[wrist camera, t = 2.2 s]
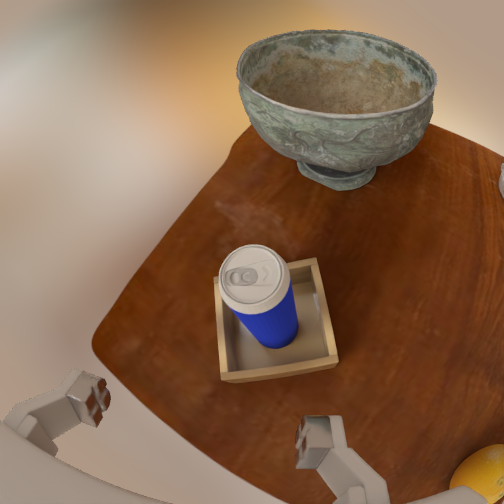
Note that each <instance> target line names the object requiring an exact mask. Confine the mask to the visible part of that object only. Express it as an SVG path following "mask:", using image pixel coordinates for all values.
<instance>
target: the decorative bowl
mask: <svg viewBox="0 0 504 504" xmlns="http://www.w3.org/2000/svg"><path fill="white" fill-rule="evenodd" d="M237 77H238V79H239V93H240V96H241V99H242V102H243V105H244V108H245V111H246V113H247V114H248V116H249V119H250V122H251V124H252V125H253V127H254V128H255V130H256V131H257V133H258V134H259V135H260V137H261V138H262V139H263V140H264V141H265V142H266V143H268V144H269V145H270V146H271V147H272V148H273V149H274V150H275V151H277V152H278V153H280V154H281V155H283V156H286V157H289V158H291V159H294V160H297V166H298V169H299V171H300V173H301V174H302V175H304V176H306V177H308V178H310V179H312V180H314V181H316V182H318V183H321V184H323V185H325V186H327V187H329V188H332V189H334V190H337V191H343V190H352V189H356V188H359V187H361V186H363V185H365V184H367V183H368V182H369V181H370V180H371V179H372V178H373V176H374V174H375V172H376V167H377V166H380V165H388V164H390V163H391V162H393V161H395V160H397V159H398V158H400V157H402V156H404V155H406V154H407V153H409V152H410V151H412V150H413V149H414V148H415V147H416V145H417V144H418V142H419V141H420V140H421V139H422V137H423V135H424V132H425V130H426V128H427V127H428V125H429V122H430V119H431V117H432V114H433V103H432V101H433V95H434V89H435V87H436V85H437V75H436V73H435V71H434V69H433V68H432V67H431V66H430V64H429V63H428V62H427V61H426V60H425V59H424V58H423V57H421V56H420V55H419V54H417V53H415V52H414V51H412V50H410V49H408V48H407V47H405V46H402V45H400V44H398V43H395V42H393V41H391V40H388V39H385V38H382V37H379V36H375V35H372V34H368V33H363V32H354V31H346V30H340V31H338V30H329V29H328V30H305V31H292V32H288V33H284V34H279V35H275V36H271V37H269V38H266V39H263V40H260V41H258V42H256V43H254V44H252V45H250V46H248V47H247V48H246V50H244V52H243V53H242V55H241V57H240V59H239V61H238V64H237Z"/></svg>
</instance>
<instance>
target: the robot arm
mask: <svg viewBox="0 0 504 504" xmlns="http://www.w3.org/2000/svg"><path fill="white" fill-rule="evenodd" d="M105 386H106V381H105V379H103V378H101V377H98V376H95V375H92V374H90V373H87V372H85V371H82V370H80V369H77V368H74V369H73V370H72V371H71V372H70V373H69V374H68V376H67V377H66V378H65V379H64V381H63V382H62V384H61V385H60V386H59V387H58V389H57V390H51V391H49V392H47V393H44V394H41V395H39V396H36V397H34V398H31V399H28V400H26V401H23V402H21V403H18V404H16V405H15V406H14V407H13V408H12V410H11V411H10V412H9V414H8V415H7V416H6V418H5V419H4V420H3V421H0V504H171V503H167V502H163V501H160V500H156V499H153V498H149V497H146V496H143V495H140V494H137V493H134V492H131V491H128V490H125V489H122V488H120V487H118V486H114V485H112V484H110V483H107V482H105V481H103V480H100V479H98V478H96V477H93V476H91V475H89V474H87V473H85V472H83V471H81V470H79V469H76V468H75V467H73V466H71V465H69V464H67V463H65V462H63V461H61V460H59V459H58V458H56V457H55V455H56V453H57V452H58V448H57V446H56V445H55V444H54V442H53V441H52V440H53V439H55V438H56V437H58V436H60V435H61V434H63V433H65V432H66V431H68V430H70V429H71V428H73V427H75V426H76V425H78V424H80V423H81V422H83V423H86V424H88V425H91V426H93V427H96V428H97V426H98V425H99V423H100V421H101V420H102V418H103V416H102V412H104V411H106V410H107V409H108V407H109V405H110V400H111V397H110V393H109V391H108V389H107V388H106V387H105ZM295 447H296V448H297V449H298V451H297V453H296V455H295V456H296V468H299V469H316V470H317V471H318V473H319V474H320V476H321V477H322V478H323V480H324V481H325V482H326V484H327V485H328V486H329V488H330V489H331V490H332V492H333V493H334V494H335V495H336V497H337V498H338V499H337V500H335V501H334V502H333V503H332V504H390V499H389V494H388V489H387V485H386V481H385V480H384V479H383V478H382V477H381V476H380V475H379V474H377V473H376V472H375V471H374V470H373V469H372V468H371V467H370V466H369V465H368V464H367V463H366V462H365V461H364V460H363V459H362V458H361V457H360V456H359V455H358V454H357V453H356V452H355V451H354V450H353V449H352V448H347V442H346V437H345V431H344V426H343V421H342V417H341V416H327V415H303V416H302V419H301V425H300V426H298V429H297V432H296V437H295ZM405 504H488V503H487V500H486V499H485V498H484V497H483V496H482V495H480V494H479V493H477V492H476V491H474V490H472V489H471V488H469V487H467V486H464V485H461V486H457V487H455V488H452V489H449V490H447V491H444V492H441V493H438V494H435V495H433V496H429V497H426V498H423V499H420V500H416V501H413V502H409V503H405Z"/></svg>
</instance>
